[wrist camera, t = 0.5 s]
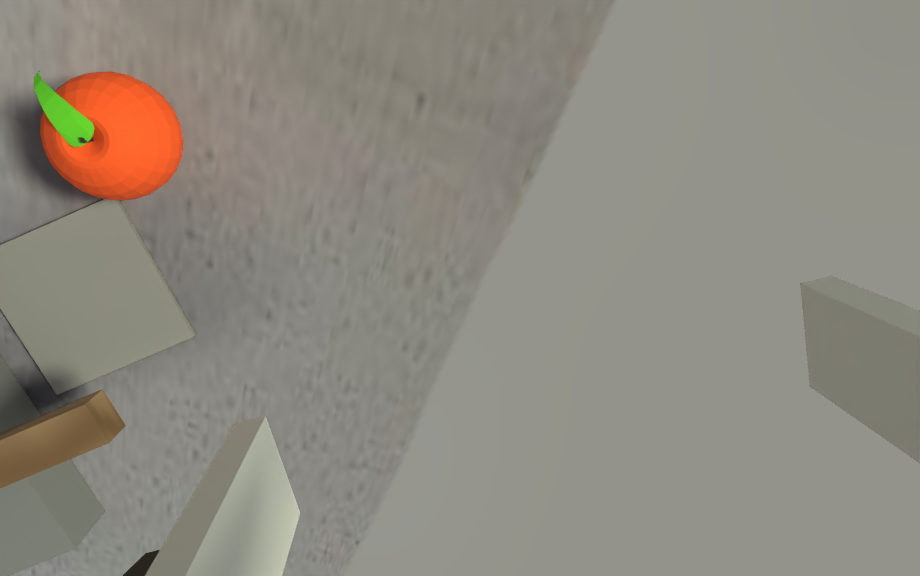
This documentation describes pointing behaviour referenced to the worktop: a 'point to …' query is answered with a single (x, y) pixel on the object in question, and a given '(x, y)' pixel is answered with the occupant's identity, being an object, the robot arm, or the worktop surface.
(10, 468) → the brown wooden lever
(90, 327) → the mat
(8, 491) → the socket block
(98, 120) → the clementine
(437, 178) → the worktop surface
